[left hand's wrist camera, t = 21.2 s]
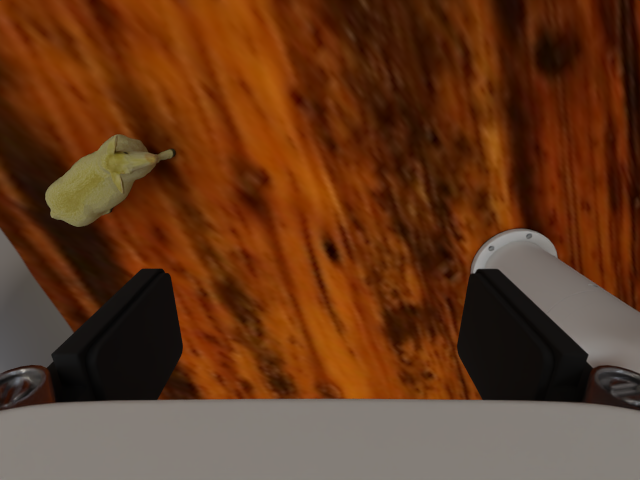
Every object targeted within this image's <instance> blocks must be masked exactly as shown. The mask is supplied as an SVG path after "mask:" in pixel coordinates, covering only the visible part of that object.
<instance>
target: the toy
mask: <svg viewBox="0 0 640 480" xmlns="http://www.w3.org/2000/svg"><path fill="white" fill-rule="evenodd" d="M174 156H175V150H174V149H169V150H166V151H165V152H161V153H160V154H158V155H156V154H151V153H148V151H147V149H146V147H145V146H144V145H143V143H142V142H141V141H140V140H136V139H131V138H128V137H126V136H124V135H120V134H119V135H115V136H113V137H111V138H109V139H108V140H107V141H106V142H105V143H104V144H103V145H102V146H101V147H100V149H99V150H98V151H96V152H94V153H92V154H89V155H87V156H85V157H83V158H81V159H80V160H79V161H78V162H76V163H75V164H74V165H73V166H72V168H71V169H70V170H69V171H68V172H67V173H65V175H64V176H63V177H61V178H59V179H58V180H57V181H55V182H54V183H53V184H52V185H51V186H50V187H49V188H48V190H47V192H46V202H47V204H48V205H49V207H50V208H51V212H50V214H51V217H52V218H55V219H57V220H60V219H61V220H64V221H65V222H67V223H69V224H71V225H74V226H77V227H80V226H85V225H88V224H90V223H92V222H93V221H95V220H96V219H97V218H99V217H100V216H101V215H104V214H108V213H110V212H111V211H112V208H113V207H114V206H116V205H117V204H119V203H120V202H122V201H123V200H124V199H125V198H126V197H127V195H128V194H129V192H130V190H131V188H132V185H133V183H134V181H135V180H136V179H140V178H142V177H144V176H145V175H146V174H148V173H149V172H150V171H151V170H152V169H153V168H154V167H155V165H156V163H158V162H159V161H160V160H165V159H169V158H172V157H174Z"/></svg>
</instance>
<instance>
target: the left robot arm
mask: <svg viewBox="0 0 640 480" xmlns="http://www.w3.org/2000/svg"><path fill="white" fill-rule="evenodd" d="M182 349H183V344H182V338H181V332H180V327H179V321H178V315H177V310H176V304H175V298H174V293H173V287H172V281H171V277H170V275H169V274H168V273H165V272H164V270H163V269H141V270H140V271H139V272H138V273H137V274H136V275H135V276H134V277H133V278H132V279H131V280H129V281H128V282H127V283H126V284H125V285H124V286H123V287H122V288H121V289H120V290H119V291H118V292H117V293H116V294H115V295H114V296H113V297H112V298H110V299H109V300H108V301H107V302H106V303H105V304H104V305H103V306H102V307H101V308H100V309H99V310H98V311H97V312H96V313H95V314H94V315H93V316H91V317H90V318H89V319H88V320H87V321H86V322H85V323H84V324H83V325H82V326H81V327H80V328H79V329H78V330H77V331H76V332H75V333H74V334H72V336H70V337H69V338H68V339H67V340H66V341H65V342H64V343H63V344H62V345H61V346H60V347H59V348H58V349H57V350H56V351H55V352H53V353H52V358H53V362H52V363H51V364H50V365H49V366H48V367H47V368H45V367H43V366H38V365H29V366H22V367H18V368H14V369H11V370H8V371H5V372H3V373H1V374H0V480H640V312H638V311H637V310H635V309H633V308H632V307H630V306H629V305H627V304H626V303H624V302H622V301H621V300H619V299H618V298H616V297H615V296H613V295H612V294H610V293H609V292H607V291H606V290H604V289H603V288H601V287H600V286H598V285H597V284H595V283H594V282H592V281H591V280H589V279H588V278H586V277H585V276H583V275H582V274H580V273H579V272H577V271H576V270H574V269H573V268H571V267H570V266H568V265H567V264H565V263H564V262H562V261H561V260H559V259H558V257H557V252H556V249H555V247H554V245H553V244H552V243H551V241H550V240H549V239H547V238H546V237H545V236H543V235H542V234H540V233H538V232H536V231H533V230H530V229H512V230H508V231H505V232H502V233H500V234H497V235H496V236H494V237H492V238H491V239H489V240H488V241H487V242H486V243H485V244H484V245H483V246H482V247H481V248H480V249H479V251H478V252H477V254H476V256H475V257H474V260H473V263H472V267H471V275H470V277H469V281H468V287H467V293H466V298H465V304H464V310H463V315H462V321H461V327H460V332H459V338H458V344H457V349H458V354H459V357H460V359H461V360H462V362H463V364H464V366H465V368H466V370H467V372H468V373H469V375H470V377H471V379H472V381H473V383H474V384H475V386H476V388H477V390H478V392H479V394H480V395H481V397H482V399H483V400H409V399H223V400H157V399H158V397H159V395H160V394H161V392H162V390H163V388H164V386H165V384H166V383H167V381H168V379H169V377H170V375H171V373H172V372H173V370H174V368H175V366H176V364H177V362H178V360H179V359H180V357H181V354H182Z"/></svg>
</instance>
